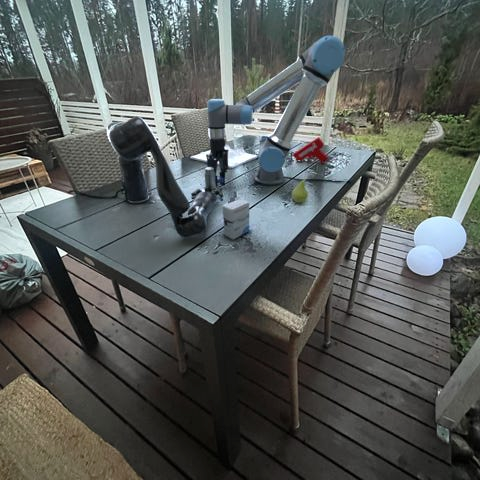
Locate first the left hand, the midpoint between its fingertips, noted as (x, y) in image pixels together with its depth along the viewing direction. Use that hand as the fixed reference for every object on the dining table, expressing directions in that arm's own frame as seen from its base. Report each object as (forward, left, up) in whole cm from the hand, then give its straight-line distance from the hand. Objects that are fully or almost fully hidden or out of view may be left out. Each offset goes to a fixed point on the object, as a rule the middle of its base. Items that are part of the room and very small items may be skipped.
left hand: (212, 188), depth 120 cm
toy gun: (+49, +64, -6) cm, 81 cm away
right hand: (0, +15, -5) cm, 15 cm away
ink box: (+15, -27, -6) cm, 31 cm away
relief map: (-7, +67, -6) cm, 67 cm away
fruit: (+39, +3, -6) cm, 39 cm away
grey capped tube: (0, -3, -6) cm, 7 cm away
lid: (0, +15, -1) cm, 15 cm away
